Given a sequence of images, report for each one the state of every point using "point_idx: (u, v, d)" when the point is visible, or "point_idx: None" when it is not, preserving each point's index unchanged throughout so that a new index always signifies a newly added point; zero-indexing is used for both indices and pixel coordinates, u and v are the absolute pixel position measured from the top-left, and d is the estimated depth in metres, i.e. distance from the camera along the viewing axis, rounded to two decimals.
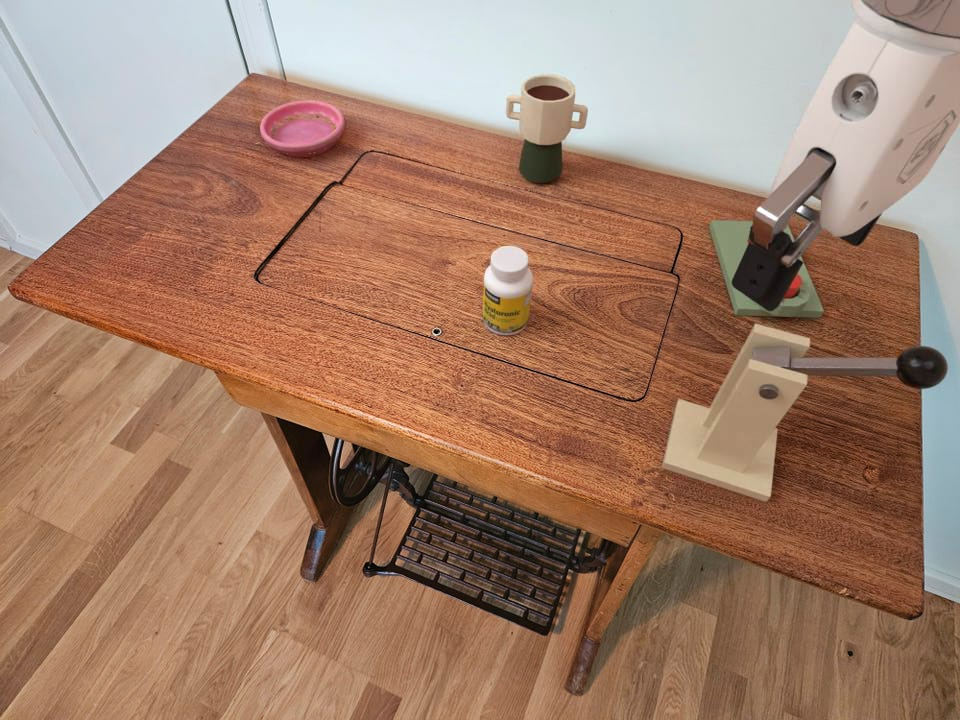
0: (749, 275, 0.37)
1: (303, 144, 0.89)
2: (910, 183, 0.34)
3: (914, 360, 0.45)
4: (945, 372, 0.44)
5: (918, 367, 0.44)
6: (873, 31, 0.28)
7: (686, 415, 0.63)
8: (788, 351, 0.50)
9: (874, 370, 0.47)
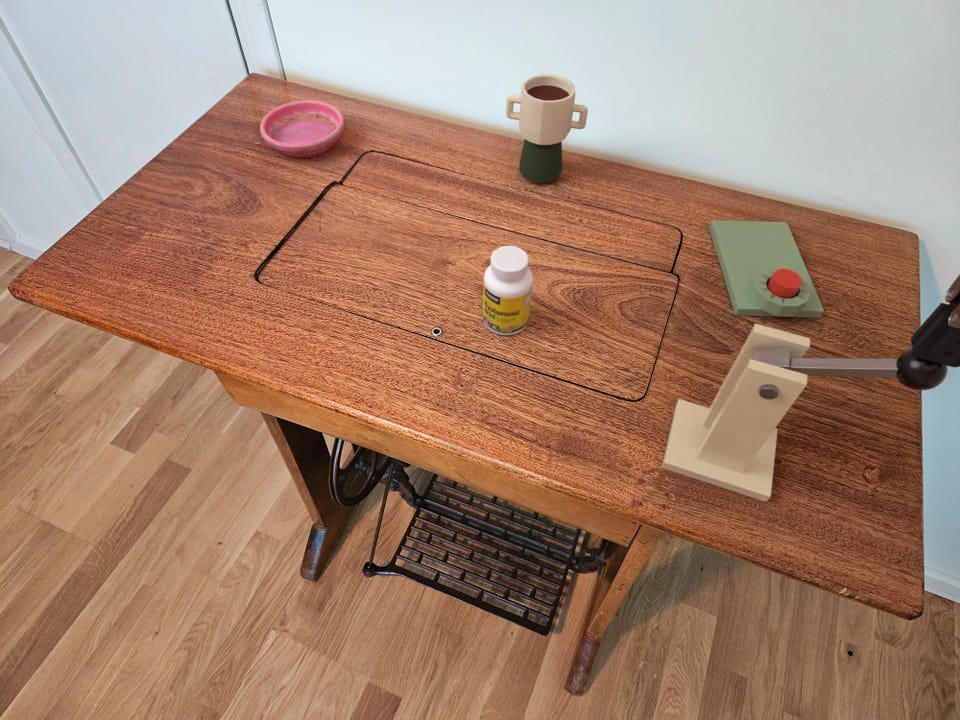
0: (945, 348, 0.42)
1: (303, 144, 0.89)
2: None
3: (914, 361, 0.45)
4: (945, 374, 0.44)
5: (918, 368, 0.44)
6: None
7: (686, 415, 0.63)
8: (788, 351, 0.50)
9: (874, 371, 0.47)
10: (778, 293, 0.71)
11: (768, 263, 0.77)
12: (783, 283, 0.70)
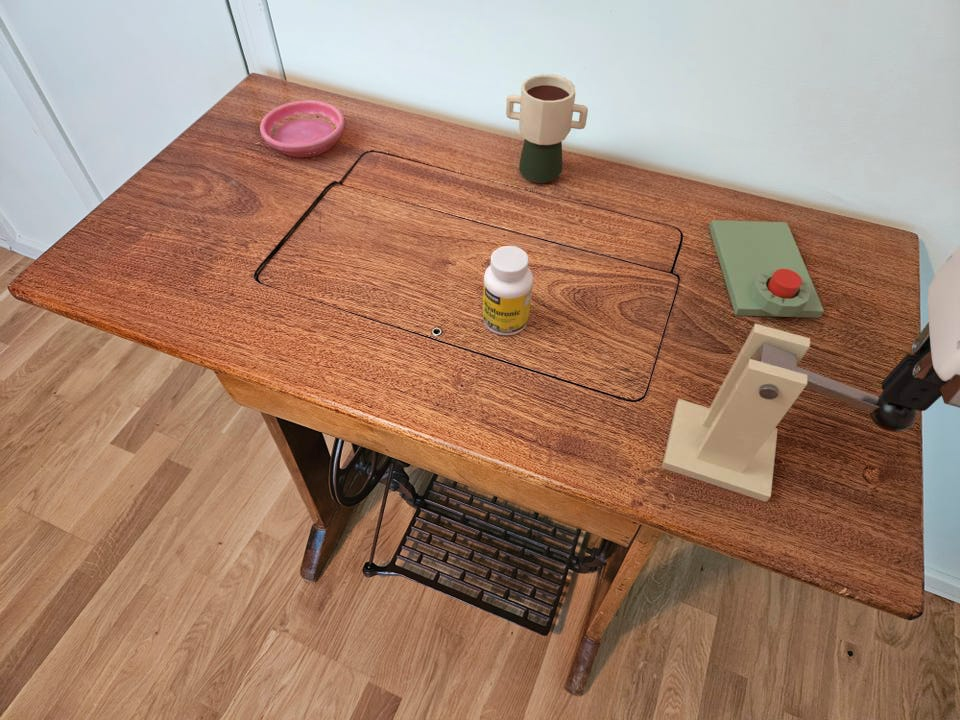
0: (911, 395, 0.46)
1: (303, 144, 0.89)
2: None
3: (899, 406, 0.48)
4: (913, 423, 0.49)
5: (900, 413, 0.48)
6: None
7: (686, 415, 0.63)
8: (795, 358, 0.50)
9: (859, 402, 0.50)
10: (778, 293, 0.71)
11: (768, 263, 0.77)
12: (783, 283, 0.70)
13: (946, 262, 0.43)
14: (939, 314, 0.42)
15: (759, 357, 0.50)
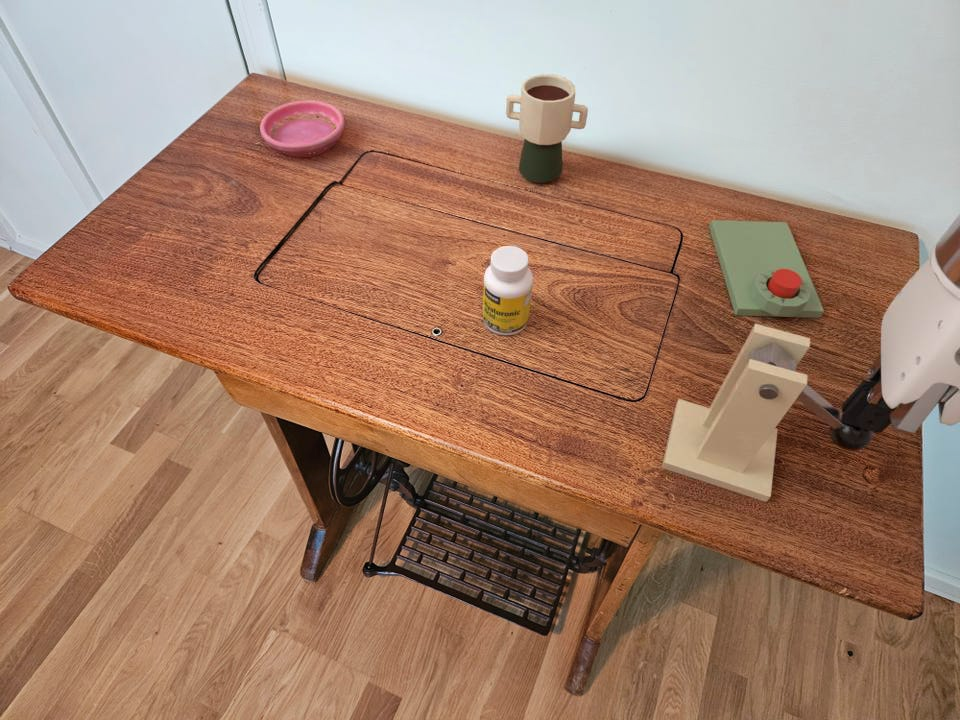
0: (867, 419, 0.50)
1: (303, 144, 0.89)
2: None
3: (862, 430, 0.52)
4: None
5: (861, 436, 0.52)
6: None
7: (686, 415, 0.63)
8: (795, 365, 0.51)
9: (830, 417, 0.52)
10: (778, 293, 0.71)
11: (768, 263, 0.77)
12: (783, 283, 0.70)
13: (897, 296, 0.47)
14: (888, 346, 0.45)
15: (768, 355, 0.50)
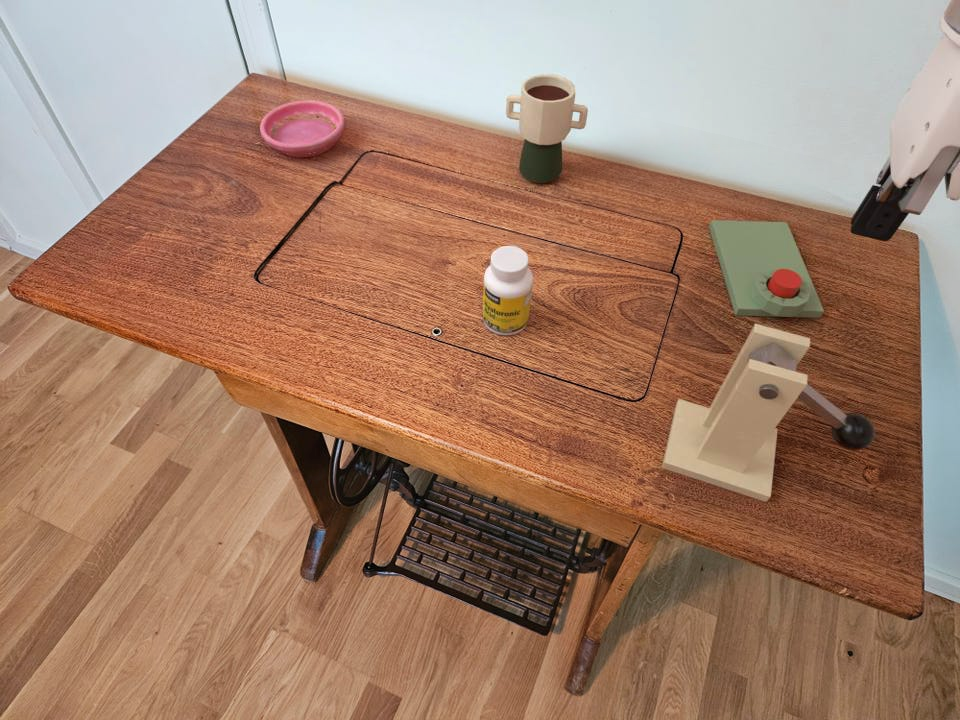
0: (875, 222, 0.52)
1: (303, 144, 0.89)
2: None
3: (864, 429, 0.52)
4: None
5: (864, 436, 0.51)
6: None
7: (686, 415, 0.63)
8: (795, 364, 0.51)
9: (832, 417, 0.52)
10: (778, 293, 0.71)
11: (768, 263, 0.77)
12: (783, 283, 0.70)
13: (906, 94, 0.49)
14: (898, 135, 0.47)
15: (768, 355, 0.50)
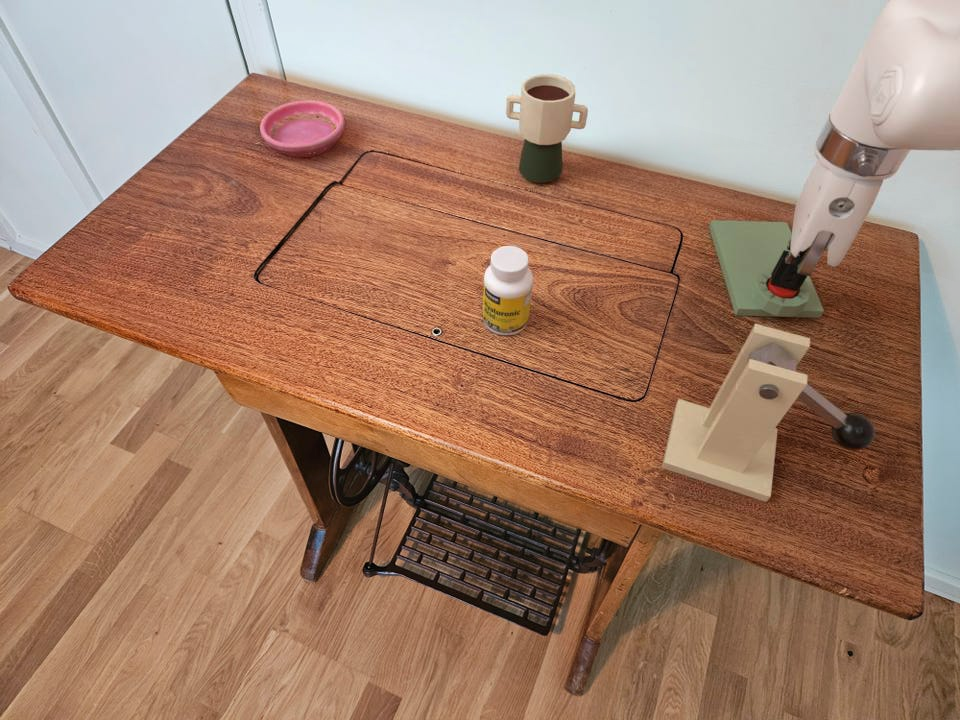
0: (786, 278, 0.69)
1: (303, 144, 0.89)
2: None
3: (864, 429, 0.52)
4: None
5: (864, 436, 0.51)
6: (844, 178, 0.56)
7: (686, 415, 0.63)
8: (795, 364, 0.51)
9: (832, 417, 0.52)
10: None
11: (768, 263, 0.77)
12: (780, 289, 0.71)
13: (804, 186, 0.67)
14: (796, 217, 0.65)
15: (768, 355, 0.50)
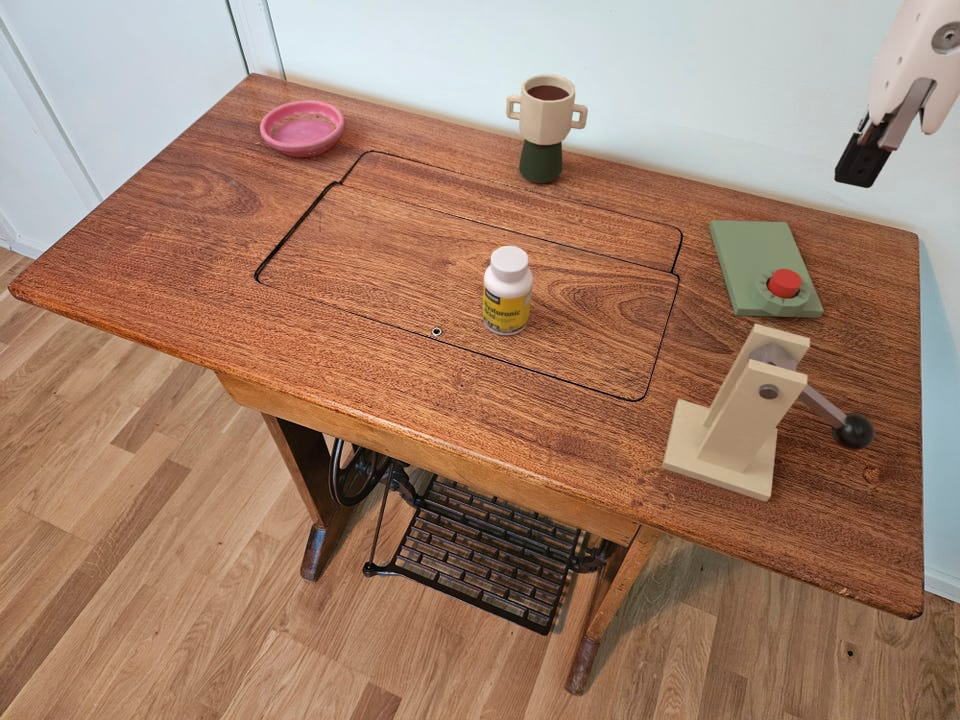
0: (857, 167, 0.54)
1: (303, 144, 0.89)
2: None
3: (864, 429, 0.52)
4: None
5: (864, 436, 0.51)
6: None
7: (686, 415, 0.63)
8: (795, 364, 0.51)
9: (832, 417, 0.52)
10: (778, 293, 0.71)
11: (768, 263, 0.77)
12: (783, 283, 0.70)
13: (882, 44, 0.52)
14: (875, 79, 0.50)
15: (768, 355, 0.50)
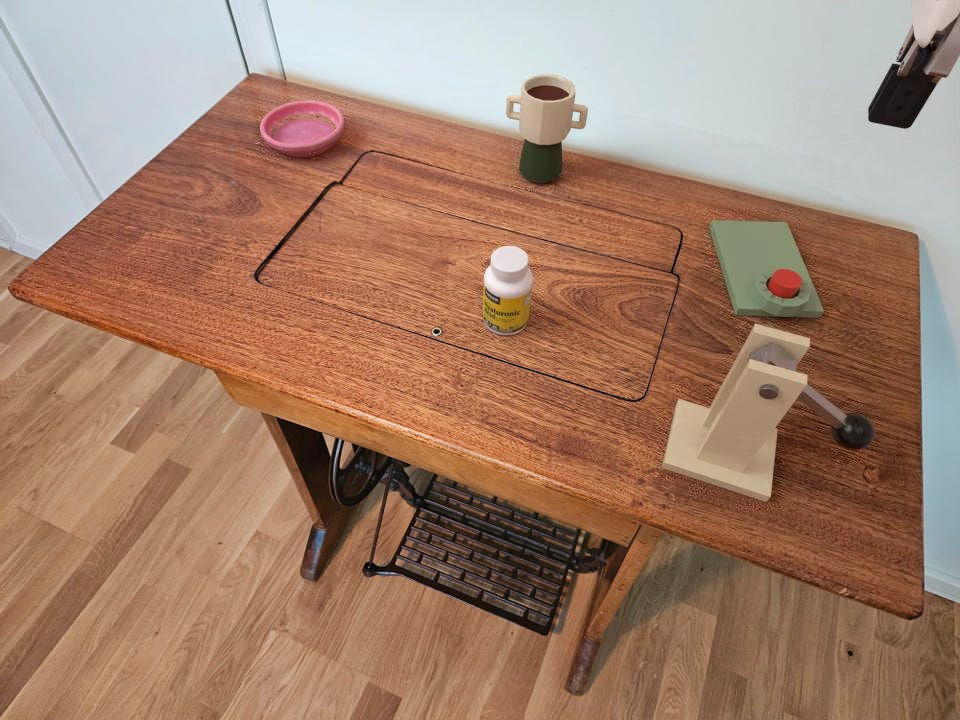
0: (896, 103, 0.47)
1: (303, 144, 0.89)
2: None
3: (864, 429, 0.52)
4: None
5: (864, 436, 0.51)
6: None
7: (686, 415, 0.63)
8: (795, 364, 0.51)
9: (832, 417, 0.52)
10: (778, 293, 0.71)
11: (768, 263, 0.77)
12: (783, 283, 0.70)
13: None
14: None
15: (768, 355, 0.50)
